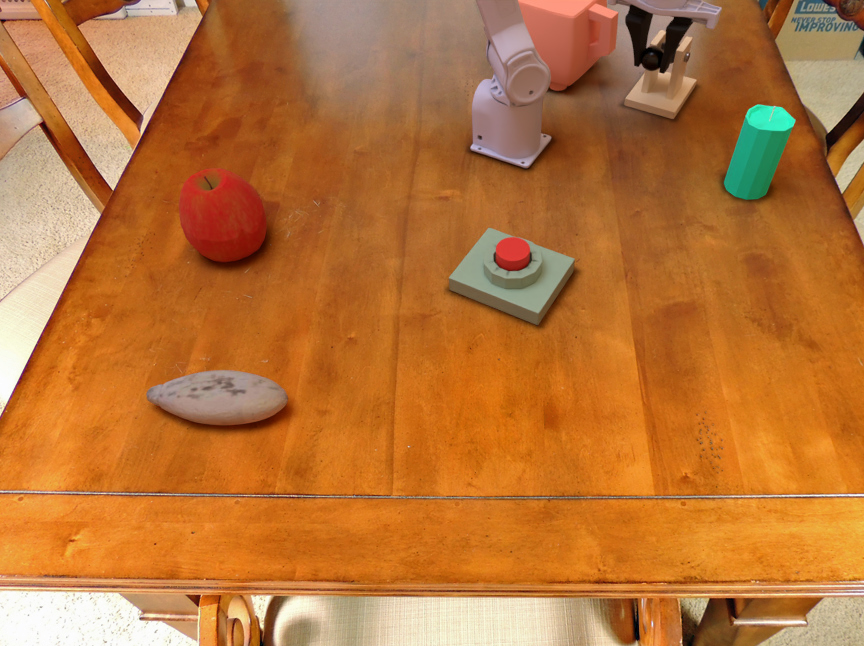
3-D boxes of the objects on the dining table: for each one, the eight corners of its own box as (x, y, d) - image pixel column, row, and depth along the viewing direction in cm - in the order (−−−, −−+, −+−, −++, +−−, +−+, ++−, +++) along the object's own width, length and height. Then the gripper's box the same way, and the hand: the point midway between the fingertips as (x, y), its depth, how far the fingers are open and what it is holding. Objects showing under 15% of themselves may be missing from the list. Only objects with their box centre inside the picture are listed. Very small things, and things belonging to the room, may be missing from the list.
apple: (256, 206, 93) (231, 139, 84) (286, 249, 88) (264, 183, 79) (182, 235, 89) (149, 169, 81) (210, 282, 84) (178, 217, 76)
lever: (657, 75, 93) (664, 49, 91) (635, 69, 94) (641, 44, 92) (678, 65, 102) (685, 42, 100) (657, 60, 103) (664, 37, 101)
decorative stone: (161, 380, 76) (148, 362, 73) (299, 383, 75) (291, 365, 72) (143, 427, 72) (129, 410, 69) (287, 431, 72) (279, 413, 69)
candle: (769, 202, 91) (801, 123, 82) (723, 197, 92) (750, 117, 82) (767, 174, 95) (798, 95, 85) (723, 169, 96) (749, 90, 86)
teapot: (470, 66, 112) (467, -25, 101) (511, 33, 118) (513, -57, 107) (587, 108, 105) (598, 14, 93) (625, 70, 111) (640, -23, 99)
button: (489, 264, 80) (489, 253, 79) (505, 243, 82) (505, 232, 81) (519, 276, 79) (520, 265, 78) (535, 254, 81) (535, 243, 80)
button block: (449, 290, 83) (447, 266, 80) (488, 239, 88) (488, 215, 85) (537, 325, 79) (539, 302, 76) (573, 271, 84) (576, 247, 81)
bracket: (673, 119, 103) (686, 63, 96) (623, 105, 105) (632, 50, 98) (695, 86, 108) (709, 31, 101) (647, 73, 110) (657, 18, 103)
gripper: (739, -40, 84) (711, 65, 95) (628, -63, 88) (614, 40, 99) (721, -16, 80) (694, 90, 91) (607, -41, 84) (594, 63, 95)
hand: (651, 66), depth 95 cm, fingers closed on lever, 3 cm apart
